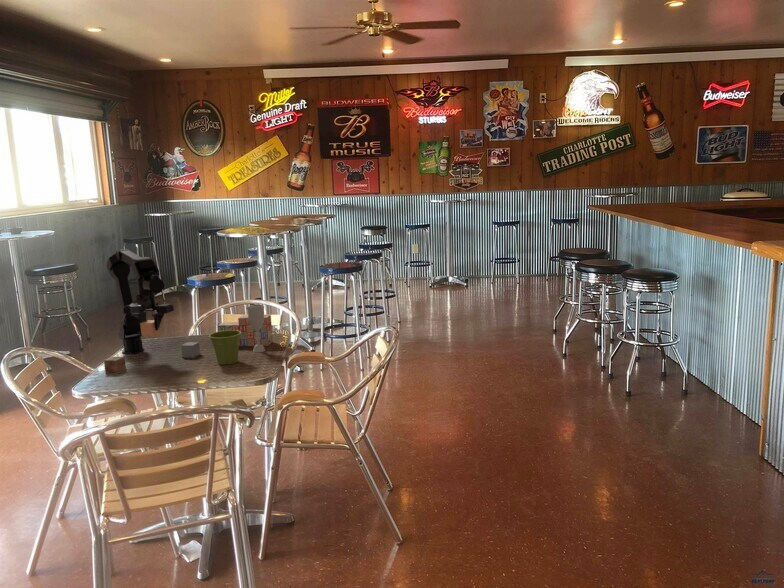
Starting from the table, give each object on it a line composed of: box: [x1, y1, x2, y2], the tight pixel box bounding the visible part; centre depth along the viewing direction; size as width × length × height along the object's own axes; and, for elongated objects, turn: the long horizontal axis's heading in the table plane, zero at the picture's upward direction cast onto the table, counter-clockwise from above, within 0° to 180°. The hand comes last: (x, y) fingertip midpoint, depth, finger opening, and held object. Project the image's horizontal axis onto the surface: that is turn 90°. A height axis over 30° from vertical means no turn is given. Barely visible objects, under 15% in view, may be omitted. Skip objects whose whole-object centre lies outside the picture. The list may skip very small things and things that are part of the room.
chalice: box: [245, 304, 266, 353], centre depth 243 cm, size 7×7×18 cm
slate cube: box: [180, 341, 201, 359], centre depth 241 cm, size 5×5×5 cm
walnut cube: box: [103, 356, 127, 375], centre depth 224 cm, size 5×5×5 cm
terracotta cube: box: [140, 319, 162, 337], centre depth 235 cm, size 5×5×5 cm
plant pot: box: [208, 330, 241, 366], centre depth 229 cm, size 12×12×11 cm
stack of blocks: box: [217, 314, 274, 347], centre depth 255 cm, size 21×6×12 cm, turn 85°
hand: (150, 330), depth 236 cm, fingers closed on terracotta cube, 5 cm apart
